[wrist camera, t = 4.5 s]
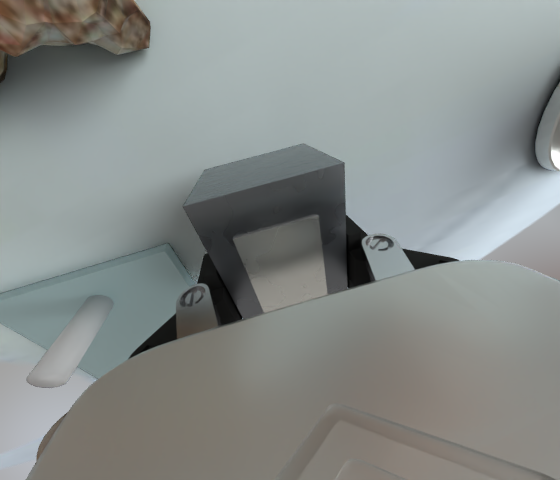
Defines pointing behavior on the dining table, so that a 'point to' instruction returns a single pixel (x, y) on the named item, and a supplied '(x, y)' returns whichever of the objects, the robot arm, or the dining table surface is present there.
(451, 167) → the dining table surface
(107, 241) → the dining table surface
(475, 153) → the dining table surface
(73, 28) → the stone
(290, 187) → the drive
